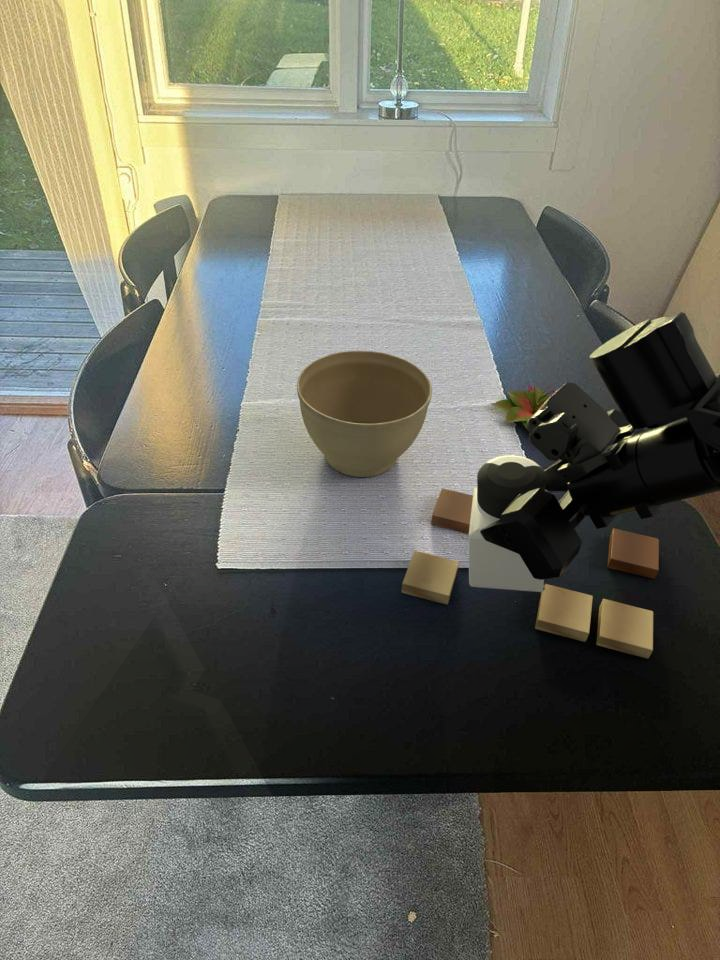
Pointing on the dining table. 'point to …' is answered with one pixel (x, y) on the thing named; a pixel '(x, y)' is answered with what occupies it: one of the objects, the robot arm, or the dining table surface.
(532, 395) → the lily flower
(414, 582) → the set of tan blocks
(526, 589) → the medicine bottle
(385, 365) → the planter bowl
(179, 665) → the dining table surface
